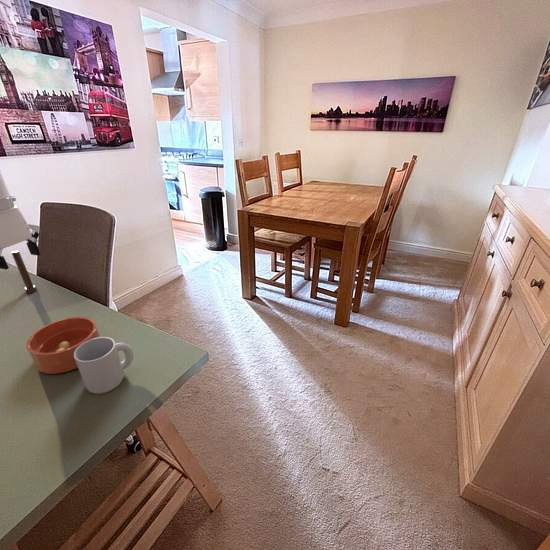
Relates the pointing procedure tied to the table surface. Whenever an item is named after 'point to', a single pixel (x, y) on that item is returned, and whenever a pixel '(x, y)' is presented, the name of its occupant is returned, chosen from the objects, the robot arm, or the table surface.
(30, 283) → the stick
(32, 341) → the bowl
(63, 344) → the bead
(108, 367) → the cup
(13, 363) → the table surface
